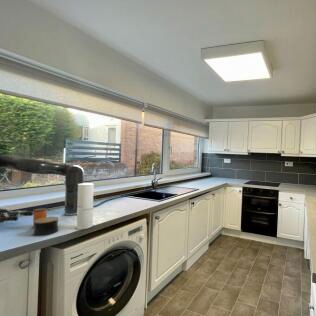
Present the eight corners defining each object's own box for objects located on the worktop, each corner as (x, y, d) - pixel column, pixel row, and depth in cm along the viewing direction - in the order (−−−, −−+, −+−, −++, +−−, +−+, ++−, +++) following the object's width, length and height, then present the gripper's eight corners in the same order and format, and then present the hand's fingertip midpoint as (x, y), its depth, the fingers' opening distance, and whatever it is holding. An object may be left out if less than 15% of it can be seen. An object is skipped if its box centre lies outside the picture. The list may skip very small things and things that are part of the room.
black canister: (52, 227, 109) (52, 215, 109) (61, 231, 106) (61, 218, 106) (29, 233, 101) (30, 220, 101) (38, 237, 97) (39, 223, 97)
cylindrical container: (82, 224, 116) (83, 182, 116) (95, 224, 117) (96, 183, 116) (73, 229, 109) (74, 184, 109) (86, 229, 110) (88, 185, 109)
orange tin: (43, 224, 114) (44, 207, 113) (48, 226, 111) (49, 208, 111) (30, 227, 109) (31, 209, 108) (35, 229, 106) (36, 211, 106)
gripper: (-24, 212, 100) (12, 213, 102) (6, 205, 114) (37, 206, 116) (-24, 227, 100) (11, 227, 102) (6, 218, 115) (36, 218, 116)
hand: (25, 216), depth 109 cm, fingers open, 8 cm apart
